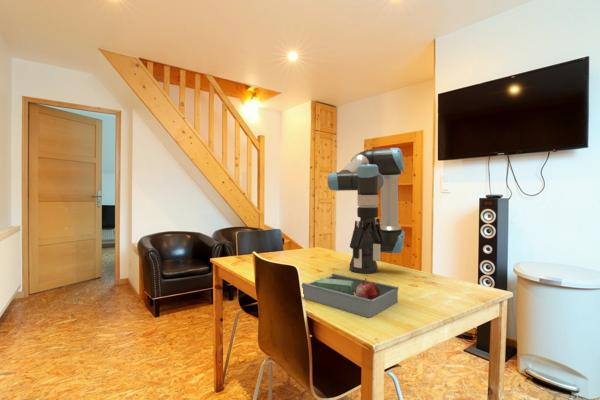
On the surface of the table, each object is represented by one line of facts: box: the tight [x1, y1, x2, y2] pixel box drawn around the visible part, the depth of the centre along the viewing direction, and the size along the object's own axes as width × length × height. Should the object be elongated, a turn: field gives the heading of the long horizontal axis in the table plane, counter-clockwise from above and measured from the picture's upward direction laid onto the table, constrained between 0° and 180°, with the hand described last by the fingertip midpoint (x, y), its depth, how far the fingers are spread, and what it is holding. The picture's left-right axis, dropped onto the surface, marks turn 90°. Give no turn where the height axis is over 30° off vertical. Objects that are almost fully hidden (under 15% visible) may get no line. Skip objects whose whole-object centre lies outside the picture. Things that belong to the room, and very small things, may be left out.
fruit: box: [354, 278, 380, 300], centre depth 116 cm, size 9×10×10 cm
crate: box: [301, 273, 399, 319], centre depth 121 cm, size 21×30×6 cm
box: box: [316, 277, 355, 296], centre depth 121 cm, size 7×14×8 cm, turn 73°
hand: (367, 263), depth 116 cm, fingers open, 13 cm apart
